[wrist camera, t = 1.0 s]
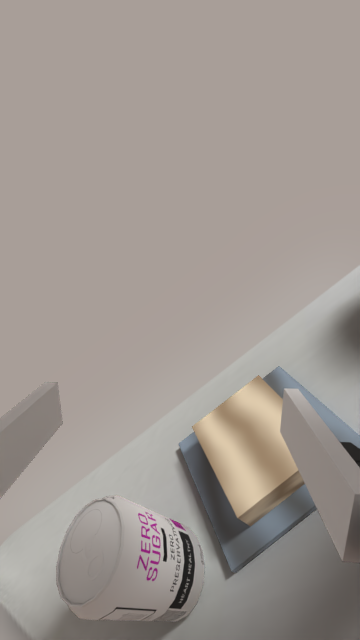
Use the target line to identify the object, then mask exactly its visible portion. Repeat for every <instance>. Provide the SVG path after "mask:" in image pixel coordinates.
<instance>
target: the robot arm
mask: <svg viewBox="0 0 360 640" xmlns="http://www.w3.org/2000/svg"><path fill="white" fill-rule="evenodd" d="M62 424H63V421H62V414H61V405H60V398H59V390H58V383H57V382H45V383H44V384H42V385H41V386H40V387H38V388H37V389H36V390H35V391H33V392H32V393H31V394H30V395H28V396H27V397H26V398H25V399H24V400H22V401H21V402H20V403H18V404H17V405H16V406H15V407H13V408H12V409H11V410H10V411H8V412H7V413H6V414H5V415H3V416H2V417H1V418H0V498H1V497H2V496H3V495H4V494H5V493H6V491H7V490H8V489H9V488H10V487H11V485H12V484H13V483H14V482H15V480H16V479H17V478H18V477H19V476H20V474H21V473H22V472H23V471H24V469H25V468H26V467H27V466H28V465H29V463H30V462H31V461H32V460H33V459H34V458H35V456H36V455H37V454H38V453H39V451H40V450H41V449H42V448H43V447H44V445H45V444H46V443H47V442H48V440H49V439H50V438H51V437H52V436H53V435H54V433H55V432H56V431H57V430H58V428H59V427H60V426H61V425H62ZM280 433H281V435H282V437H283V439H284V441H285V443H286V445H287V447H288V449H289V451H290V453H291V456H292V458H293V460H294V462H295V464H296V466H297V468H298V470H299V472H300V474H301V476H302V478H303V481H304V483H305V485H306V487H307V489H308V491H309V493H310V495H311V497H312V499H313V501H314V503H315V506H316V508H317V510H318V512H319V514H320V516H321V518H322V520H323V522H324V524H325V526H326V528H327V531H328V533H329V535H330V537H331V539H332V541H333V543H334V545H335V547H336V549H337V551H338V553H339V556H340V558H341V560H342V562H353V563H360V449H359V448H358V447H357V446H355V445H354V444H352V443H351V442H339V441H338V439H337V438H336V437H335V435H334V434H333V433H332V432H331V430H330V429H329V428H328V426H327V425H326V424H325V423H324V421H323V420H322V419H321V417H320V416H319V415H318V414H317V412H316V411H315V410H314V409H313V407H312V406H311V405H310V403H309V402H308V401H307V400H306V398H305V397H304V396H303V394H302V393H301V392H300V391H299V389H287V388H284V394H283V405H282V415H281V426H280Z"/></svg>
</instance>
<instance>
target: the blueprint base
mask: <svg viewBox="0 0 360 640" xmlns="http://www.w3.org/2000/svg"><path fill="white" fill-rule="evenodd" d="M284 388H287V389H299V391H300V392H301V393H302V394H303V396H304V397H305V398H306V400H307V401H308V402H309V403H310V405H311V406H312V407H313V409H314V410H315V411H316V412H317V414H318V415H319V416H320V417H321V419H322V420H323V421H324V423H325V424H326V425H327V426H328V428H329V429H330V430H331V432H332V433H333V434H334V435H335V437H336V438H337V439H338V441H339V442H351V443H352V444H354V445H355V446H357V447H358V448H359V449H360V435H358V434H357V433H356V432H355V431H354V430H353V429H351V428H350V427H349V426H348V425H347V424H346V423H345V422H343V421H342V420H341V419H340V418H339V417H338V416H336V415H335V414H334V413H333V412H332V411H331V410H329V409H328V408H327V407H326V406H325V405H324V404H323V403H321V402H320V401H319V400H318V399H317V398H316V397H314V396H313V395H312V394H311V393H310V392H309V391H307V390H306V389H305V388H304V387H303V386H302V385H301V384H299V383H298V382H297V381H296V380H295V379H294V378H292V377H291V376H290V375H289V374H288V373H287V372H286V371H284V370H283V369H282V368H281V367H280V366H278V367H277V368H276V369H274V370H273V371H272V372H271V373H269V374H268V375H267V376H265V377H264V378H263V379H262V378H261V377H260V376H259V375H258V376H257V377H256V378H254V379H253V380H252V381H251V382H249V383H248V384H247V385H245V386H244V387H243V388H242V389H240V390H239V391H238V392H236V393H235V394H234V395H232V396H231V397H230V398H229V399H227V400H226V401H225V402H223V403H222V404H221V405H220V406H218V407H217V408H216V409H214V410H213V411H212V412H210V413H209V414H208V415H207V416H205V417H204V418H203V419H201V420H200V421H199V422H198V423H196V424H195V425H194V426H192V428H193V430H194V432H193V433H192V434H190V435H189V436H188V437H187V438H185V439H184V440H183V441H181V442H180V443H179V446H180V449H181V451H182V453H183V456H184V458H185V461H186V463H187V465H188V468H189V470H190V473H191V475H192V477H193V480H194V482H195V485H196V487H197V489H198V492H199V494H200V497H201V499H202V501H203V504H204V506H205V509H206V511H207V514H208V516H209V518H210V521H211V523H212V526H213V528H214V530H215V533H216V535H217V538H218V540H219V542H220V545H221V547H222V550H223V552H224V554H225V557H226V559H227V562H228V564H229V566H230V569H231V571H232V572H235V573H236V572H237V571H239V570H240V569H241V568H242V567H244V566H245V565H246V564H247V563H249V562H250V561H251V560H253V559H254V558H255V557H256V556H258V555H259V554H260V553H261V552H263V551H264V550H265V549H266V548H268V547H269V546H270V545H271V544H273V543H274V542H275V541H277V540H278V539H279V538H280V537H282V536H283V535H284V534H285V533H287V532H288V531H289V530H290V529H292V528H293V527H294V526H295V525H297V524H298V523H299V522H301V521H302V520H303V519H304V518H306V517H307V516H308V515H309V514H311V513H312V512H313V511H314V510H316V509H317V508H316V506H315V503H314V501H313V499H312V497H311V495H310V493H309V491H308V489H307V487H306V485H305V483H304V481H303V478H302V476H301V474H300V472H299V470H298V468H297V466H296V464H295V462H294V460H293V458H292V456H291V453H290V451H289V449H288V447H287V445H286V443H285V441H284V439H283V437H282V435H281V433H280V426H281V415H282V405H283V394H284Z"/></svg>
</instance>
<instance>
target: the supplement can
mask: <svg viewBox="0 0 360 640" xmlns="http://www.w3.org/2000/svg"><path fill="white" fill-rule="evenodd" d="M204 573H205V563H204V556H203V550H202V547H201V545H200V543H199V540H198V538H197V536H196V535H195V534H194V533H193V531H192V530H191V529H190V528H189V527H187V526H184V525H182V524H180V523H178V522H176V521H173V520H171V519H169V518H167V517H165V516H162V515H160V514H158V513H156V512H154V511H151V510H149V509H147V508H145V507H143V506H140V505H138V504H136V503H134V502H132V501H129V500H127V499H125V498H123V497H121V496H118V495H114V496H106V497H104V498H102V499H95V500H94V501H92V502H90V503H89V504H87V505H85V506H84V507H83V509H82V510H81V511H80V512H79V513H78V514H77V515H76V516H75V518H74V520H73V521H72V523H71V525H70V526H69V528H68V530H67V531H66V534H65V537H64V539H63V542H62V544H61V547H60V551H59V556H58V561H57V566H56V581H57V587H58V590H59V594H60V597H61V599H62V600H63V601H64V602H65V603H66V604H67V605H68V607H69V609H70V610H71V611H72V612H73V613H74V614H75V615H76V616H77V617H78V618H79V619H87V620H121V621H176V622H177V621H179V620H180V619H182V618H184V617H186V616H187V615H189V613H190V612H191V611H192V609H193V608H194V606H195V605H196V604H197V602H198V600H199V597H200V594H201V591H202V588H203V584H204Z"/></svg>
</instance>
